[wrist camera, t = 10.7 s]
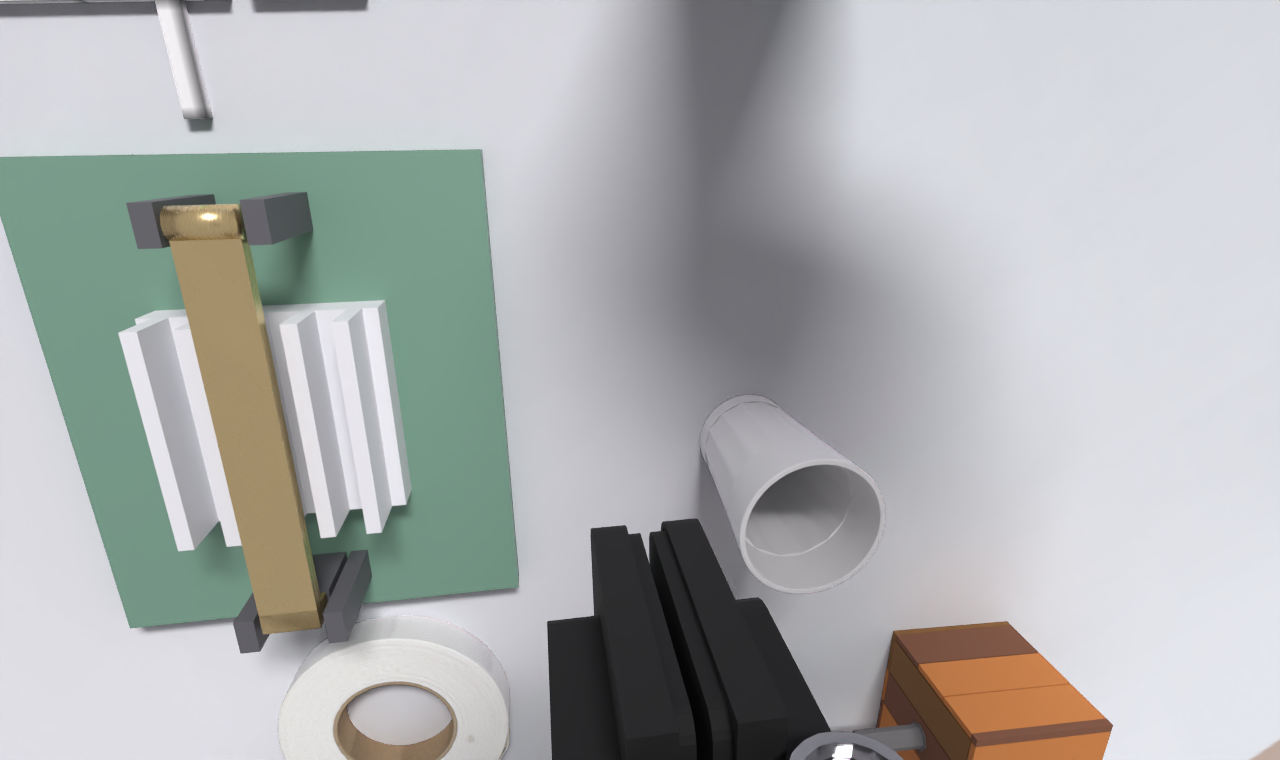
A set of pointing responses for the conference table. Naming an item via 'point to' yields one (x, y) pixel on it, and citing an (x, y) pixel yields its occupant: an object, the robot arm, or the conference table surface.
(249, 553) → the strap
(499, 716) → the roll of tape
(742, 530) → the cup
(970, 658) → the clamp
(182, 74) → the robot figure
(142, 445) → the motherboard
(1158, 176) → the conference table surface
